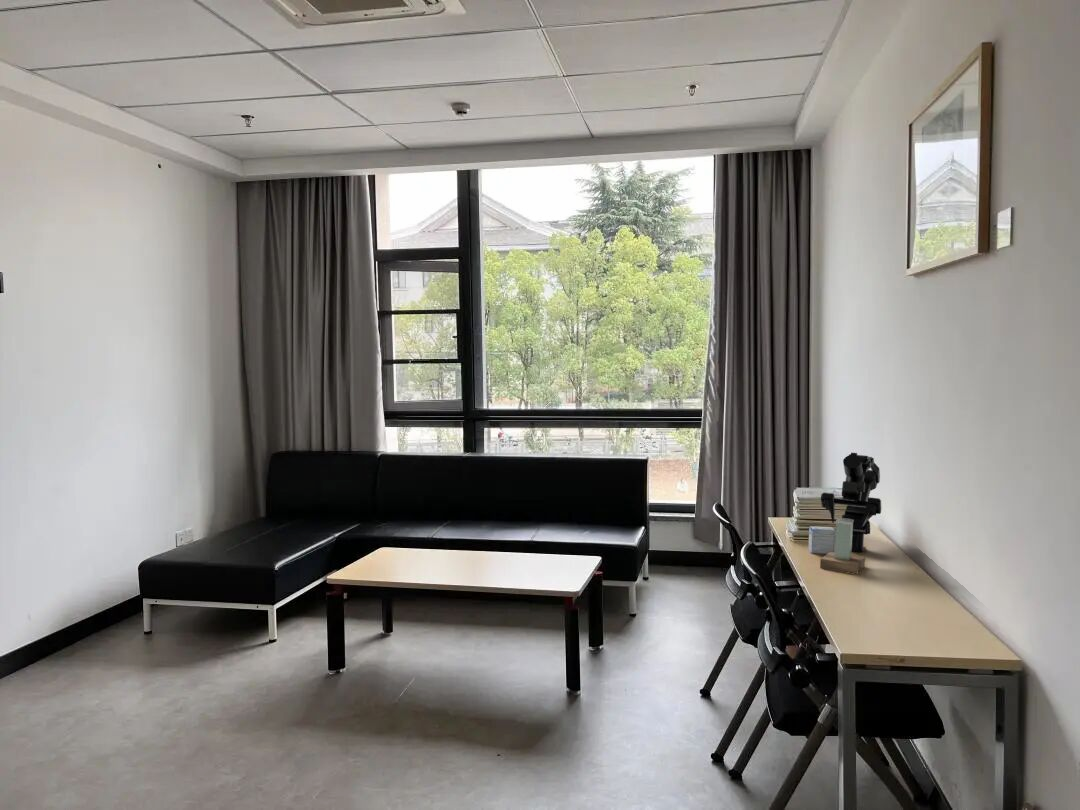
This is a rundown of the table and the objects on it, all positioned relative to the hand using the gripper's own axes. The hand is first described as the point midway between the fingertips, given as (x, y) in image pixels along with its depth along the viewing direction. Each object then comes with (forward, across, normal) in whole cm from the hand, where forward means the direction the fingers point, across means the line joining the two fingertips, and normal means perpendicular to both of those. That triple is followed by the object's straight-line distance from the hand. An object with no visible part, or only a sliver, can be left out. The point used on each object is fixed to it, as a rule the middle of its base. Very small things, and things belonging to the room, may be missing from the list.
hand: (847, 524), depth 256 cm
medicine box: (+3, -9, +16) cm, 18 cm away
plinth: (+14, 0, +5) cm, 14 cm away
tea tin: (+12, 0, +2) cm, 12 cm away
